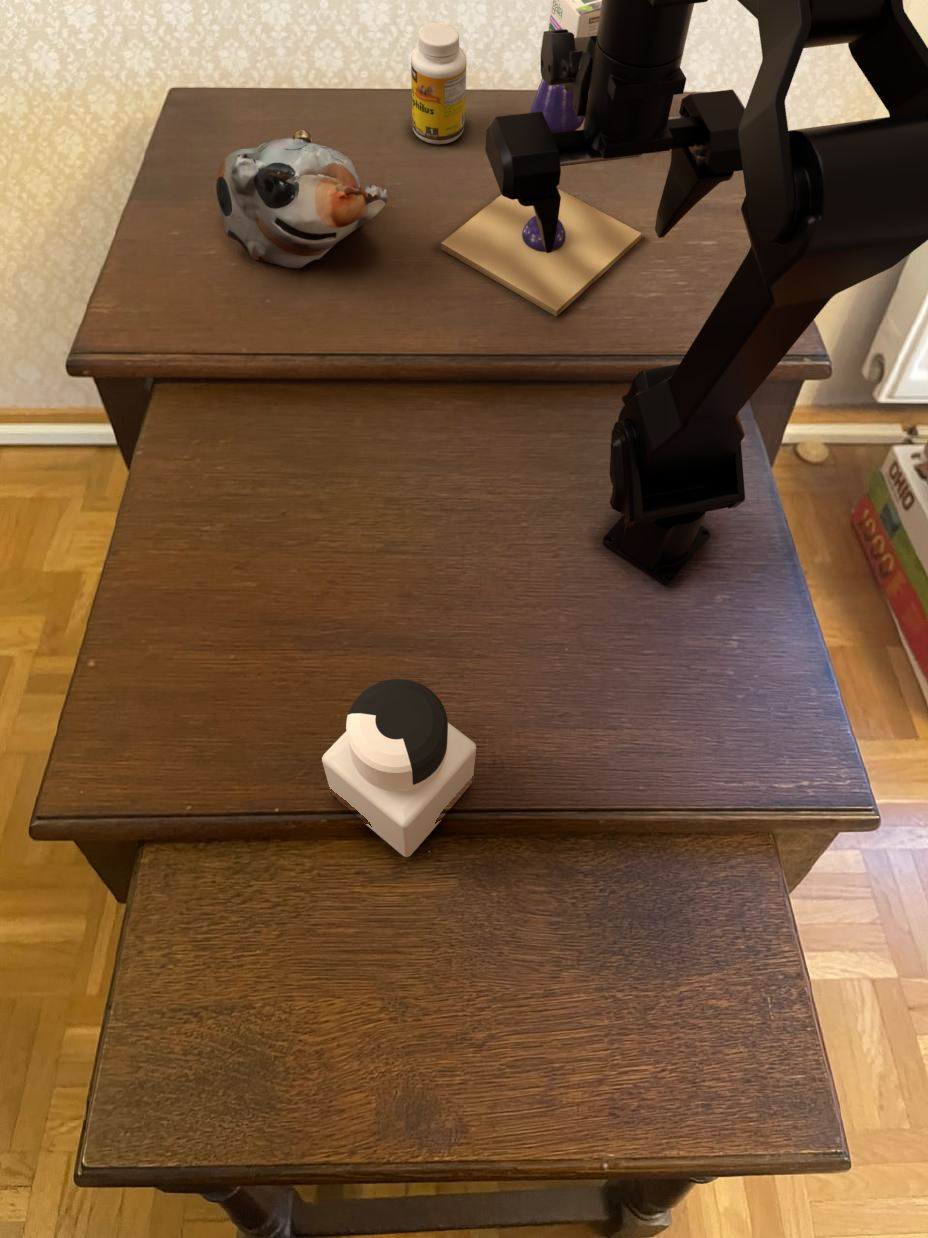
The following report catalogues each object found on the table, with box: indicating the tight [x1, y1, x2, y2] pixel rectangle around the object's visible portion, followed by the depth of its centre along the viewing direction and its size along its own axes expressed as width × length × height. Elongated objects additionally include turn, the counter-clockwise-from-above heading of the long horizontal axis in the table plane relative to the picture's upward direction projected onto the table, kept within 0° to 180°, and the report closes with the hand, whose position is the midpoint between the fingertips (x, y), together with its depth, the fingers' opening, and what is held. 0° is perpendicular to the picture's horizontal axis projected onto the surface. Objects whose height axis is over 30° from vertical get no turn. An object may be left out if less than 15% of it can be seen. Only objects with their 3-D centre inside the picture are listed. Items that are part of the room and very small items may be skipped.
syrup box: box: [547, 0, 602, 131], centre depth 98 cm, size 6×6×14 cm
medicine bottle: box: [321, 678, 477, 858], centre depth 62 cm, size 7×7×12 cm
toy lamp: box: [522, 78, 584, 252], centre depth 87 cm, size 5×5×17 cm
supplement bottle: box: [410, 22, 467, 145], centre depth 99 cm, size 6×6×10 cm
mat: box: [440, 188, 642, 317], centre depth 95 cm, size 14×14×1 cm
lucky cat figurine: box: [215, 128, 389, 269], centre depth 89 cm, size 15×12×14 cm
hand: (603, 241), depth 76 cm, fingers open, 9 cm apart
